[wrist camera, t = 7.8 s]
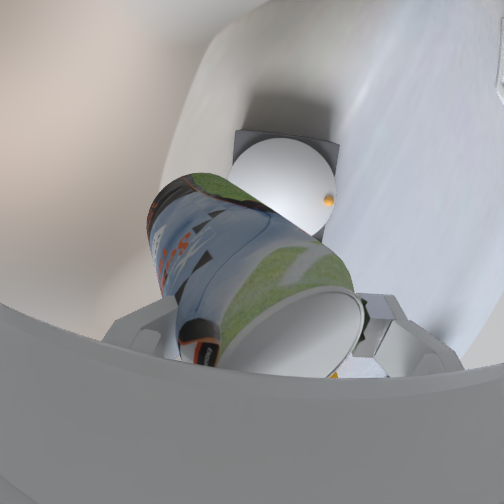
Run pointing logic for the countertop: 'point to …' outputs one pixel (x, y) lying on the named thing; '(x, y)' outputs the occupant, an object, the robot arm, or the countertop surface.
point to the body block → (288, 175)
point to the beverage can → (249, 283)
